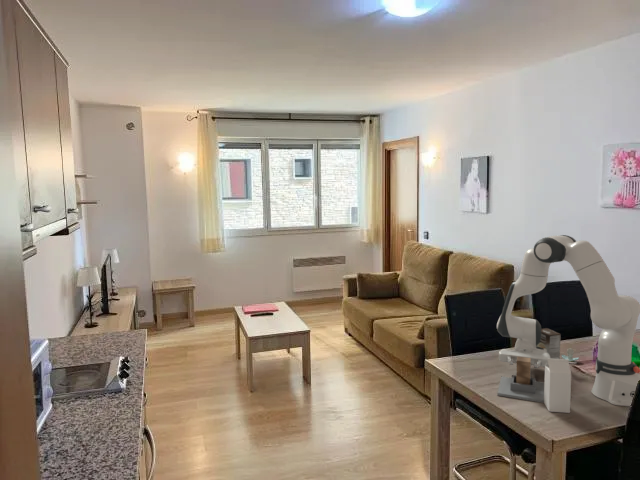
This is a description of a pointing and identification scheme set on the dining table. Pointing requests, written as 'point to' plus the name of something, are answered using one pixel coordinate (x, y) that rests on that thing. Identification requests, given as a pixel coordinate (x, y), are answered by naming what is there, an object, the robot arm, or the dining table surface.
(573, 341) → the dining table surface
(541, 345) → the coffee box
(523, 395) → the socket base
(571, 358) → the pacifier
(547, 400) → the milk carton
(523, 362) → the walnut block
